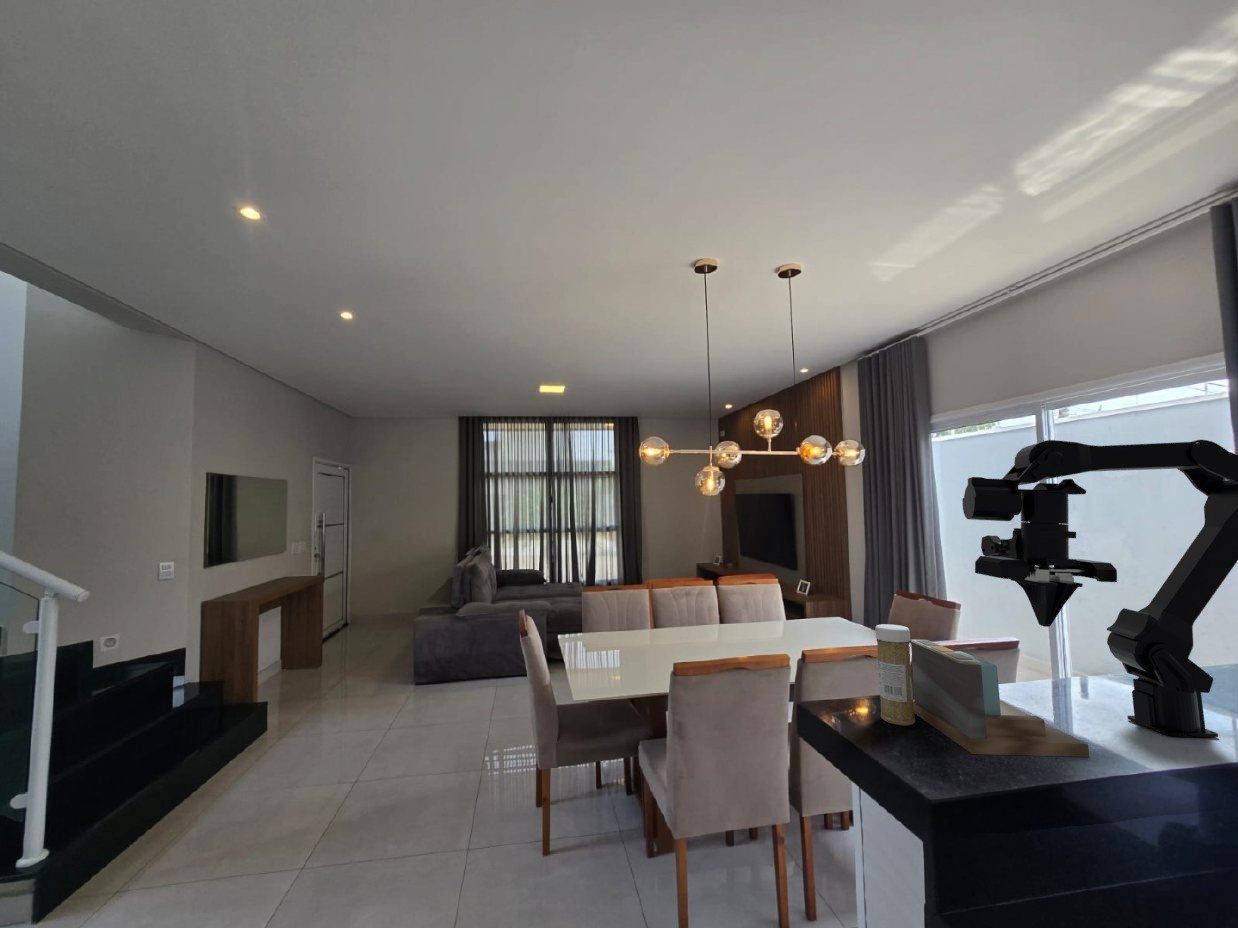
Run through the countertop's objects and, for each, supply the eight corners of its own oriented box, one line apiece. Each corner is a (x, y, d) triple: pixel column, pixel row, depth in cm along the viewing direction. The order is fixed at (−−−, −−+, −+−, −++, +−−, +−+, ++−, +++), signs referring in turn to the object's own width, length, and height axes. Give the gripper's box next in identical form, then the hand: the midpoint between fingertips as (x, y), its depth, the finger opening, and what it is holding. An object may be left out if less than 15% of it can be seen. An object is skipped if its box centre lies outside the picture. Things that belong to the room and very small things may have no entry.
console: (1002, 710, 80) (996, 637, 82) (1089, 756, 65) (1080, 665, 66) (908, 709, 81) (904, 636, 82) (972, 753, 65) (965, 663, 67)
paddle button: (965, 707, 77) (961, 651, 78) (1002, 728, 69) (997, 665, 70) (944, 706, 77) (940, 651, 78) (978, 727, 69) (973, 665, 70)
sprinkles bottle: (921, 722, 76) (915, 626, 77) (904, 728, 73) (898, 630, 75) (890, 712, 80) (885, 622, 81) (873, 718, 77) (868, 625, 79)
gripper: (1051, 522, 89) (1051, 614, 89) (949, 518, 88) (949, 612, 87) (1119, 526, 78) (1121, 632, 78) (1004, 522, 77) (1004, 630, 76)
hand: (1044, 625), depth 80 cm, fingers closed
